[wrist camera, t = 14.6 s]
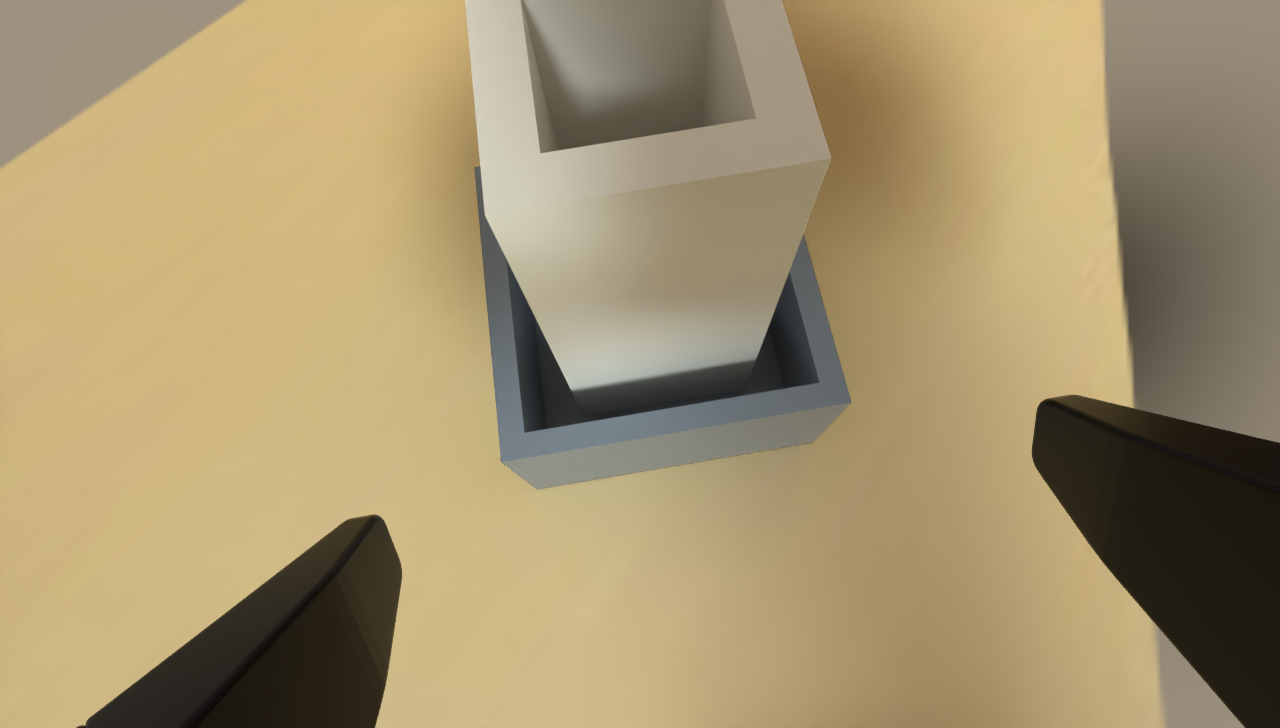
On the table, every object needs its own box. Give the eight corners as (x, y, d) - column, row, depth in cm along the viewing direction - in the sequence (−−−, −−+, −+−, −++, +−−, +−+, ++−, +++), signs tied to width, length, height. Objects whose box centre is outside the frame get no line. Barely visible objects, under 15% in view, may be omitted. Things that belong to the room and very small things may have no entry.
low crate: (812, 442, 22) (851, 402, 17) (537, 489, 22) (501, 462, 17) (751, 206, 25) (770, 118, 21) (511, 246, 25) (474, 167, 21)
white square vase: (745, 389, 22) (832, 158, 10) (583, 416, 22) (484, 215, 10) (713, 247, 24) (754, -86, 12) (564, 271, 24) (461, -40, 12)
